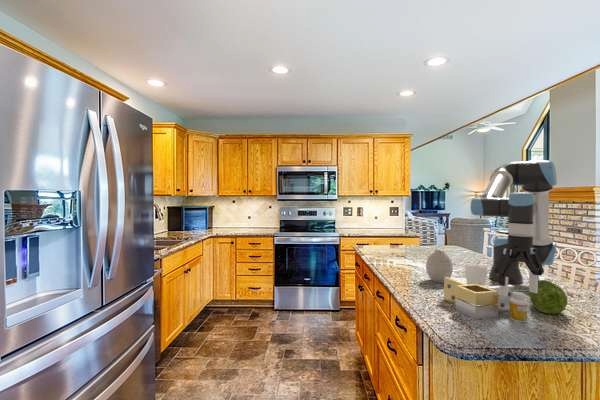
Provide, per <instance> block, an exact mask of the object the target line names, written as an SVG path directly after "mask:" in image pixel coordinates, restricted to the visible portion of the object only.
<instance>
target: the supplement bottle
mask: <svg viewBox="0 0 600 400" xmlns="http://www.w3.org/2000/svg"><path fill="white" fill-rule="evenodd" d="M512 297H513V298H511V299H510V311H508V312H509V313H508V314H509V315H508V316H509V319H510V320H511V321H513V322H517V323H527V322H528V309H529V308H528V307H529V306H528V304H529V303H528V300H526V293H525V292H520V291H515V292H512Z"/></svg>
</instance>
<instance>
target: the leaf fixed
mask: <svg viewBox="0 0 600 400" xmlns="http://www.w3.org/2000/svg"><path fill="white" fill-rule="evenodd" d="M486 287H487V288H490V289H492V290H495V291H498V304H488V305H478V306H475V305H473V304H471V303H469V302H466V301H464V300H462V299H459V298H456V305H455V306H454V307H455V308H454V309H455V310H456V311H458V312H460V313H462V314H464V315H465V316H468V317H470V318H471V319H474V320H481V319H490V318H491V319H492V318H497V317H498V314H499V313H501V312H509V311H510V299H511V298H513V297H512V292H516V286H515V285H512V284H508V296H506V295H503V294H500V293H499V292H500V285H492V286H486ZM498 312H499V313H498Z"/></svg>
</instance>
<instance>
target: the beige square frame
mask: <svg viewBox="0 0 600 400" xmlns="http://www.w3.org/2000/svg"><path fill="white" fill-rule="evenodd" d="M487 287H488V286H485V287H484V286H481V285H478V284H470V285H468V284H467V283H465V282H462V281H460V280H458V279H454V278H453V277H452V278H451V277H450V278H449V277H444V283H443V300H445V301H447V302H450V303H451V304H453V305H455V306H456V298H459V299H462V300H464V301H466V302H469V303H471V304H473V305H475V306H478V305H488V304H498V291H495V290H492V289H490V288H487Z"/></svg>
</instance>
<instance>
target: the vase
mask: <svg viewBox="0 0 600 400" xmlns="http://www.w3.org/2000/svg"><path fill="white" fill-rule="evenodd" d="M453 269H454V265H453V262H452V259H451V258H450V256H449V255H448V254H447V253H446V251H444V249H441V248H438V249H435V250H434V251H433V252H431V254H430V255H429V256H428V258H427V259H426V263H425V271H426V274H427V275H428V278H429V279H430V280H431V281H432V282H434V283H437V284H444V277H449V278H451V277H452V274H453V273H454V272H453Z"/></svg>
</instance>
